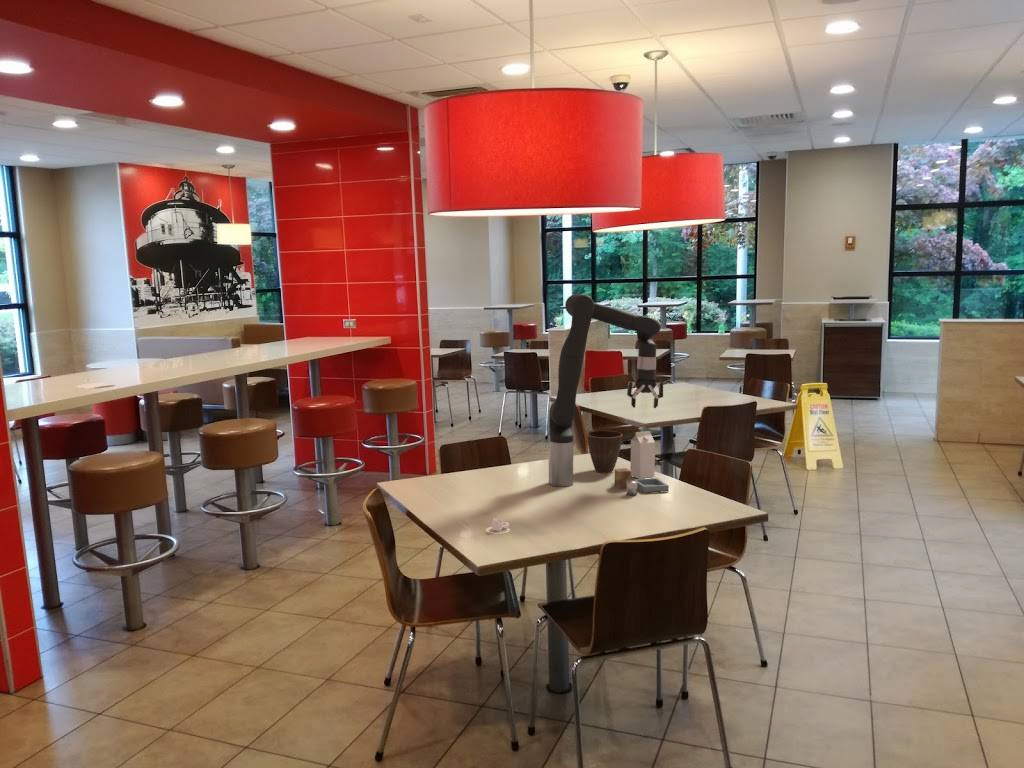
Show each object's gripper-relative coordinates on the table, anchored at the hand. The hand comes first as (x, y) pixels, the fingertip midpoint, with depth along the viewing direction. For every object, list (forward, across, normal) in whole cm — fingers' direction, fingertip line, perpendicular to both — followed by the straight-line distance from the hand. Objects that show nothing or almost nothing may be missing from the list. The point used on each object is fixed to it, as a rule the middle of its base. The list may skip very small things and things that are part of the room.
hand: (644, 407), depth 334 cm
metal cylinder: (+29, -9, -27) cm, 41 cm away
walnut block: (+29, -10, -16) cm, 35 cm away
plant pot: (+30, -13, +12) cm, 35 cm away
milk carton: (+29, +1, 0) cm, 29 cm away
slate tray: (+29, 0, -18) cm, 34 cm away
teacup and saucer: (+32, -57, -69) cm, 95 cm away
